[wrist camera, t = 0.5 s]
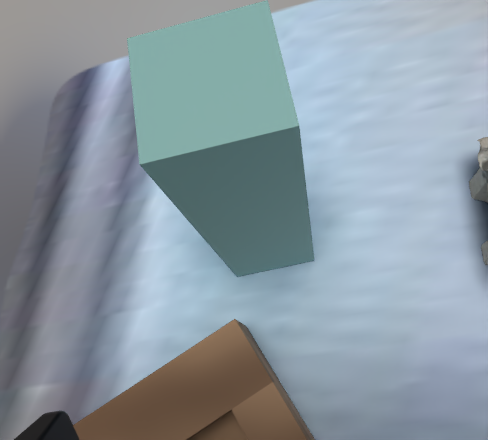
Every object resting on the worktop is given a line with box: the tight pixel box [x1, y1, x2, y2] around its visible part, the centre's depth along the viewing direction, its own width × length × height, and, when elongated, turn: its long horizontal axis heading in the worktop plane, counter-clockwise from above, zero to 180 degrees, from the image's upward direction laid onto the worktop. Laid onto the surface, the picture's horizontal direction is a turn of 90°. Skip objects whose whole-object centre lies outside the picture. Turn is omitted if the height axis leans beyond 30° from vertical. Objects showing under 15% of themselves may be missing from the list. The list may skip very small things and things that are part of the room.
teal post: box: [127, 1, 314, 277], centre depth 18 cm, size 4×4×13 cm
